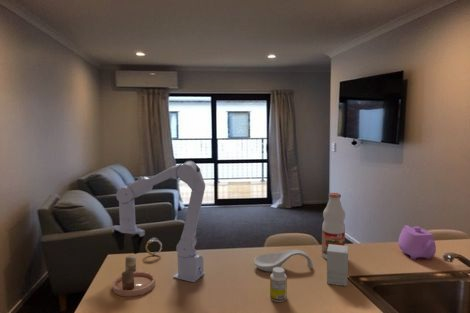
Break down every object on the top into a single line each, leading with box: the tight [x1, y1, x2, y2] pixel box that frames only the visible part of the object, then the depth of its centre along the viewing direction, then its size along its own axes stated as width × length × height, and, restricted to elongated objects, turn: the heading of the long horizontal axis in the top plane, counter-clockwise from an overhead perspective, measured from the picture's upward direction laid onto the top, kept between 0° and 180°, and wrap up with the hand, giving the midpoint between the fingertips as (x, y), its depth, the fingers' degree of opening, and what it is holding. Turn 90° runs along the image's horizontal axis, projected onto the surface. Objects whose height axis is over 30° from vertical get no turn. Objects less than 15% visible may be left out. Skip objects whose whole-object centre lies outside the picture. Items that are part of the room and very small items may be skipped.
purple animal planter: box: [398, 225, 437, 260], centre depth 148 cm, size 20×12×13 cm, turn 5°
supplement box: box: [326, 244, 349, 287], centre depth 126 cm, size 7×7×13 cm
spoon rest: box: [253, 248, 314, 273], centre depth 138 cm, size 24×12×7 cm, turn 94°
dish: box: [112, 271, 156, 298], centre depth 123 cm, size 15×15×2 cm
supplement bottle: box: [269, 266, 288, 303], centre depth 114 cm, size 6×6×10 cm
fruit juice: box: [321, 192, 346, 260], centre depth 146 cm, size 9×9×28 cm
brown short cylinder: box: [121, 271, 134, 290], centre depth 120 cm, size 4×4×6 cm
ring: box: [145, 237, 163, 257], centre depth 150 cm, size 7×3×8 cm, turn 95°
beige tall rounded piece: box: [124, 254, 137, 272], centre depth 136 cm, size 4×4×6 cm
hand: (128, 251), depth 131 cm, fingers open, 7 cm apart
